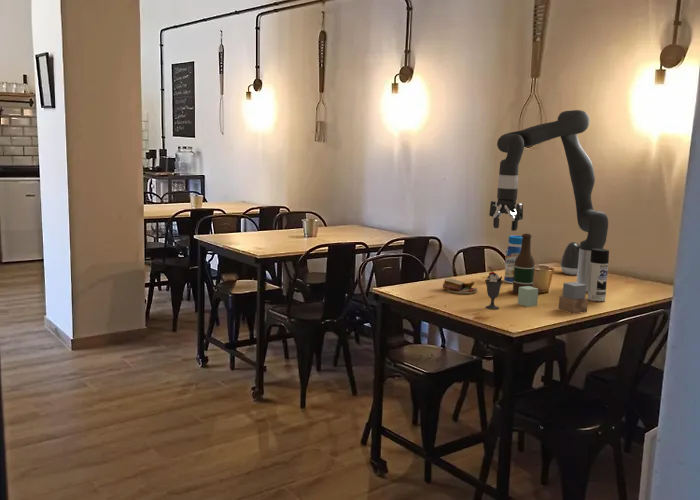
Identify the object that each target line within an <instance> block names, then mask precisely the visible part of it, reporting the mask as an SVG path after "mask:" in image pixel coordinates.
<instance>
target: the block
mask: <svg viewBox="0 0 700 500" xmlns="http://www.w3.org/2000/svg"><path fill="white" fill-rule="evenodd" d="M517 295H518V297H517V305H521V306H523V307H525V308H529V307H530V308H531V307H537V306H538V299H539V288H538V287H537V288H536V287H534V286H533V287H531V286H524V287H519V292H518V294H517Z"/></svg>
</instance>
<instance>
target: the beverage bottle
mask: <svg viewBox="0 0 700 500" xmlns="http://www.w3.org/2000/svg"><path fill="white" fill-rule="evenodd" d="M508 244H509V245H508V247H507V248H506V250H505V252H506V255H505V257H504V259H505V265H504V266H505V267H504V278H503V282H505V283H508V284H513V278H514V265H515V260H516V258H517V257H518V255H519V254H520V251H521V244H522V235H509V236H508Z"/></svg>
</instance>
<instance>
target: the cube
mask: <svg viewBox="0 0 700 500" xmlns="http://www.w3.org/2000/svg"><path fill="white" fill-rule="evenodd" d="M576 282H577V281H572V282H563V286H562V287H563V288H562V295H561V296H562V297H566V298H569V299H573V300H577V299H585V298H586V294H587V292H586V285H584V284H580V283H576Z"/></svg>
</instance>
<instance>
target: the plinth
mask: <svg viewBox="0 0 700 500" xmlns="http://www.w3.org/2000/svg"><path fill="white" fill-rule="evenodd" d="M562 296H563V295H559V297H558V298H559V299H558V310H559V309H560V311H563V312H566V311H567V312H566V313H569V312H570V314H572V313H573V315H575V314H581V313H580V312H583V313H587V312H588V305H589V300H588V298H587V297H585V299H577V300H573V299H569V298H566V297H562ZM574 313H575V314H574Z"/></svg>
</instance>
